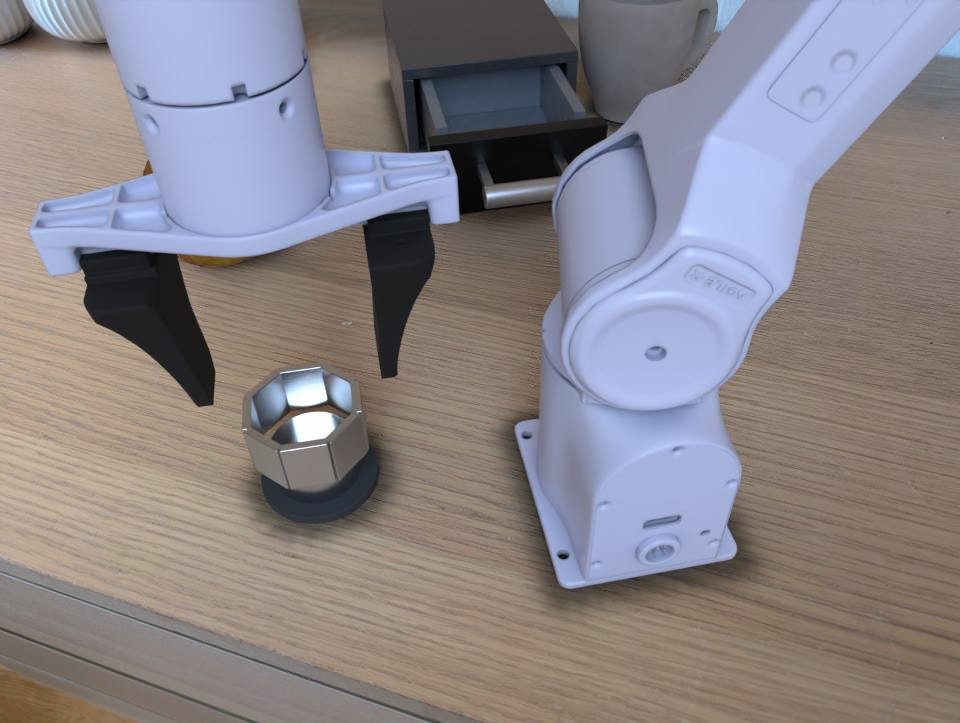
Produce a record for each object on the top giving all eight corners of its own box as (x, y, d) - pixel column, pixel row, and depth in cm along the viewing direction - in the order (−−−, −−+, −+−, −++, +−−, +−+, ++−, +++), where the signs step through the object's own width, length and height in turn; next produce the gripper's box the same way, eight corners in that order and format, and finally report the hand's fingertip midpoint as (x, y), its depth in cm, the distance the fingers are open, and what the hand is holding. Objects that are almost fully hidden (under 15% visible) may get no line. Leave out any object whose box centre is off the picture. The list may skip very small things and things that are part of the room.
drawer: (621, 231, 52) (629, 157, 49) (445, 255, 51) (439, 180, 47) (555, 112, 64) (558, 45, 61) (411, 129, 63) (405, 61, 59)
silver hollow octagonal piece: (377, 504, 38) (365, 438, 35) (263, 523, 37) (240, 458, 34) (368, 422, 41) (355, 356, 38) (264, 438, 41) (243, 372, 38)
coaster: (384, 513, 38) (383, 506, 38) (262, 533, 37) (260, 527, 37) (373, 425, 42) (372, 418, 42) (263, 442, 41) (261, 435, 41)
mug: (614, 145, 62) (626, 15, 55) (552, 99, 67) (556, -23, 61) (737, 106, 66) (763, -19, 59) (669, 66, 71) (685, -52, 65)
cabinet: (573, 142, 63) (578, 50, 58) (410, 161, 61) (401, 69, 56) (532, 68, 72) (534, -16, 67) (390, 83, 71) (381, -1, 66)
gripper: (428, -3, 29) (450, 294, 39) (4, 41, 28) (134, 339, 37) (461, 81, 24) (477, 399, 34) (-56, 141, 23) (113, 457, 32)
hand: (298, 375), depth 35 cm, fingers open, 7 cm apart
